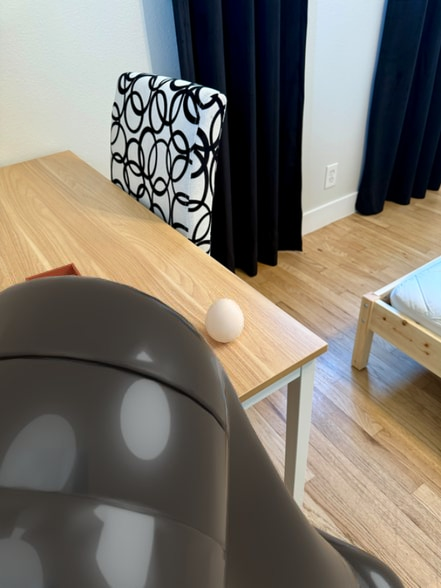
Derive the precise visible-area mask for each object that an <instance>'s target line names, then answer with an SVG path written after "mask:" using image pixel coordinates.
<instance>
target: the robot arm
mask: <svg viewBox="0 0 441 588" xmlns="http://www.w3.org/2000/svg"><path fill="white" fill-rule="evenodd" d="M0 588H406V586H405V585H404V583H403V581H402V580H401V578H400V577H399V576H398V574H397V573H396V572H395V571H394V569H392V567H391V566H390V565H388V564H387V563H386V562H385V561H383V560H382V559H380V558H379V557H378V556H375V555H374V554H373V553H370V552H368V551H366V550H364V549H362V548H360V547H358V546H356V545H353V544H352V543H350V542H348V541H345V540H343V539H340V538H339V537H336V536H335V535H332V534H330V533H329V532H326V531H324V530H322V529H321V528H319V527H317V526H316V525H313V524H312V523H311V522H310V521H309V519H308V518H307V517H306V515H305V514H304V512H303V510H302V509H301V507H300V506H299V505H298V503H297V501H296V500H295V497H294V496H293V495H292V494H291V491H290V490H289V488H288V487H287V485H286V483H285V481H284V480H283V478H282V477H281V475H280V473H279V471H278V469H277V468H276V465H275V464H274V461H273V460H272V459H271V457H270V455H269V453H268V452H267V450H266V448H265V446H264V445H263V443H262V441H261V439H260V437H259V435H258V434H257V432H256V430H255V428H254V426H253V424H252V423H251V420H250V418H249V416H248V414H247V412H246V410H245V408H244V406H243V403H242V401H241V400H240V397H239V395H238V392H237V391H236V389H235V386H234V385H233V382H232V381H231V379H230V376H229V375H228V373H227V371H226V369H225V367H224V365H223V364H222V362H221V360H220V358H219V356H218V355H217V354H216V352H215V351H214V349H213V347H212V346H211V345H210V343H209V341H208V340H207V339H206V337H204V335H203V334H202V333H201V332H200V331H199V329H198V328H197V327H196V326H194V325H193V324H192V323H191V322H190V321H189V320H188V319H187V318H186V316H184V315H183V314H181V313H180V312H178V311H177V310H175V309H174V308H172V307H171V305H170V306H169V305H168V304H166V303H165V302H164V301H162V300H161V299H160V298H157V297H156V296H153V295H151V294H149V293H147V292H144V291H143V290H141V289H138V288H137V287H134V286H131V285H129V284H126V283H125V284H124V283H120V282H117V281H114V280H109V279H106V278H102V277H96V276H88V275H87V276H84V275H81V276H76V275H66V276H53V277H42V278H36V279H32V280H29V281H26V280H25V281H22V282H18V283H14V284H13V285H10V286H8V287H6V288H4V289H3V290H1V291H0Z"/></svg>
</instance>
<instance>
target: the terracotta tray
mask: <svg viewBox="0 0 441 588" xmlns="http://www.w3.org/2000/svg"><path fill="white" fill-rule="evenodd" d="M66 275H76V276H82V274H81V273H80V271H79V270H78V268H77V267H76V264H75V263H74V262H71V263H68V264H64V265H61V266H58V267H55V268H52V269H50V270H46V271H43V272H41V273H38V274H37V273H36V274H33V275H31V276H28V277H25V279H24V280H25V281H29V280H32V279H36V278H42V277H53V276H66Z"/></svg>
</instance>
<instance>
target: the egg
mask: <svg viewBox="0 0 441 588" xmlns="http://www.w3.org/2000/svg"><path fill="white" fill-rule="evenodd" d="M204 325H205V329H206V332H207V334H208V335H209V336H210V337H211V338H212V339H213V340H214V341H216V342H218V343H223V344H224V343H230V342H233V341H235V340H236V339H238V338H239V336H241V334H242V332H243V330H244V325H245V317H244V313H243V310H242V309H241V308H240V305H238V303H236V301H234V300H233V299H230V298H227V297H224V298H223V297H221V298H219V299H216V300H215V301H213V302H212V303H211V305H210V306H209V307H208V309H207V311H206V313H205V318H204Z"/></svg>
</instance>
